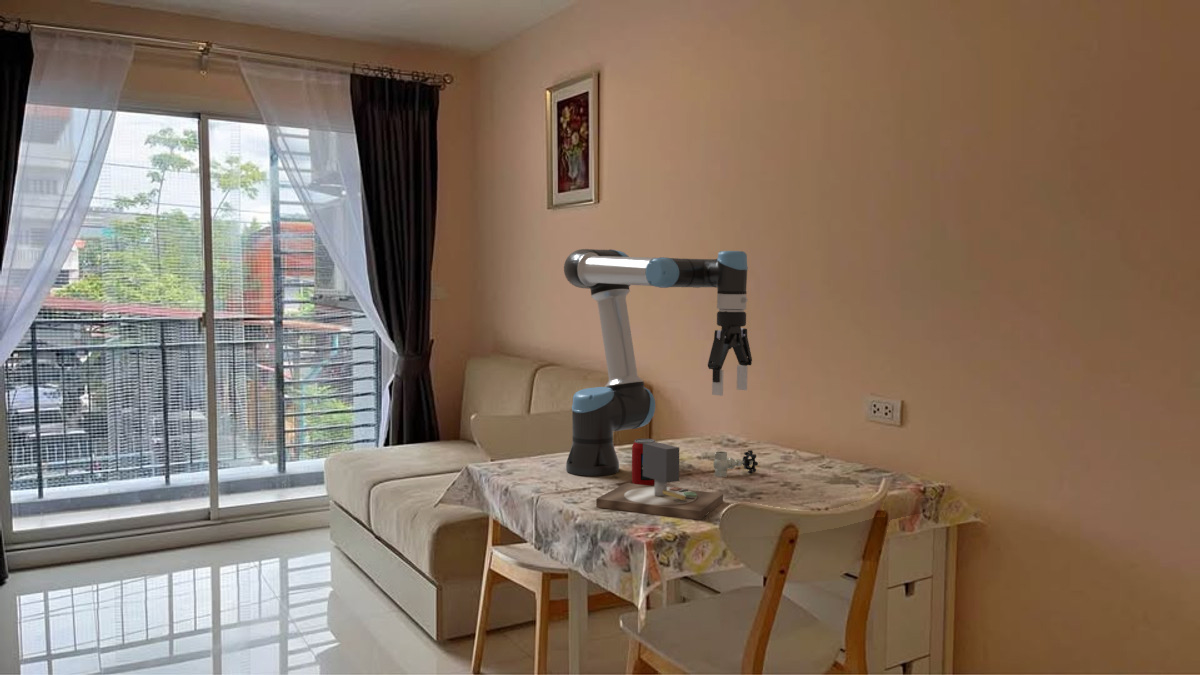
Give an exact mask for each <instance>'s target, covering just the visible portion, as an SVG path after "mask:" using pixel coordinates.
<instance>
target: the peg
mask: <svg viewBox="0 0 1200 675" xmlns="http://www.w3.org/2000/svg"><path fill="white" fill-rule="evenodd" d="M643 476H645V477H648V478H652V479H655V480H654V495H656V496H666V495H669V496H672V497H675V498H678V499H682V500H683V499H685V496H683V495H680V494H677V493H674V492H670V491H667V487H668V483H673V482H680V447H679V446H674V445H670V444H666V443H662V442H658V441H655V442H651V443H643Z"/></svg>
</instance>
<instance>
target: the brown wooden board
mask: <svg viewBox="0 0 1200 675" xmlns="http://www.w3.org/2000/svg"><path fill="white" fill-rule="evenodd" d="M667 491H670V492H674V493H677V494H680V495H683V496H685V499H683V500H682V499H678V498H675V497H672V496H669V495H666V496H656V495H654V486H648V485H639V484H633V483H628V482H625V483H623V484H621V485H620V486H618V487H617V486H616V488H614V489H612V490H610V491H608V492H607V493H605V494H603V495H600V496H599V497H597V498H596V499H595V500H596V502H595V504H596V505H595V507H596V508H601V509H610V510H618V511H619V510H620V511H626V512H635V513H643V514H649V515H650V514H651V515H657V516H667V517H675V518H682V519H689V520H690V519H691V520H698V521H699V520H702V519H703V518H704V517H706V516H707V515H708V514H709V513H711V512H712V511H713V510H715V509H716V508H718V506H720V505H721V504H722V503H723V502H724V493H721V492H711V491H702V490H695V489H694V490H693V489H687V488H685V489H684V488H682V487H679V486H673V487H670V486H667ZM715 507H716V508H715ZM712 509H713V510H712ZM711 510H712V511H711ZM710 511H711V512H710ZM708 512H709V513H708ZM707 513H708V514H707ZM706 514H707V515H706ZM705 515H706V516H705Z"/></svg>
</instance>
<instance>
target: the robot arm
mask: <svg viewBox="0 0 1200 675" xmlns="http://www.w3.org/2000/svg"><path fill="white" fill-rule="evenodd" d="M748 267H749V266H748V255H747V253H746V252H745V251H742V250H721V251H719V252H718V253H717V258H716V259H715V258H714V259H713V258H676V257H675V258H673V257H664V256H663V257H649V256H648V257H647V256H646V257H643V256H642V257H641V256H629V255H628V254H626V253H625V252H623V251H620V250H616V249H593V248H592V249H589V248H585V249H584V248H581V249H578V250H577V249H576V250H574V251H573V252H571V253H570V254H569V255H568V256H567V258H565V260H564V265H563V271H564V272H563V273H564V276H565V278H566V280H567V281H568V282H569V284H571V285H572V286H574V287H576V288H580V289H590V295H591V298H592V299H593V300H595V301H596V302H597V308H598V314H599V321H600V327H601V328H600V330H601V333H602V334H601V335H602V341H603V342H602V343H603V348H604V355H605V362H606V368H607V376H608V380H607V383H606V384H605V385H604V386H596V387H587V388H583V389H579V390H578V391H576V392H575V393H574V394H573V396H572V405H571V410H572V411H571V412H572V415H571V416H572V421H571V422H572V430H571V431H572V432H571V433H572V439H571V440H572V443H571V447H570V451H569V453H568V457H567V460H566V462H565V463H566V464H565V467H566V468H565V471H566V472H567V473H569V474H572V475H577V476H587V477H588V476H589V477H591V476H592V477H599V476H608V475H614V474H616V473H619V471H620V462H619V458H618V455H617V452H616V450H615V447H614V432H619V431H625V430H636V429H638V428H641V427H644V426H647V425H648V424H649V423H650V422H651V420H652V419H653V418H654V415H655V411H656V400H655V396H654V395H653V393H652V392H651V390H650V389H648V388H646V387H645V383H644V381H645V380H643V379H641V378H640V377H639V376H638V370H637V364H636V357H635V351H634V350H635V349H634V344H633V337H632V331H631V325H630V324H631V323H630V317H629V312H628V305H627V295H628V294H629V293H630V292H631V291H630V287H631V286H645V287H646V286H648V287H655V288H664V289H666V288H697V289H699V288H716V291H717V296H716V297H717V298H716V309H717V310H718V311H717V312H716V325H717V326H718V327H721V328H720V329H719V330H718V329H715V330H714V336H713V337H714V338H713V341H712V346H711V350H710V353H709V358H708V362H707V368H708V370H712V375H711V376H712V378H711V380H712V384H711V388H712V389H711V390H712V391H711V395H712V396H722V397H723V396H724V369H722V368H723V366H724V363H725V360H726V358H727V355H728V353H729V350H731V349H733V352H734V354H735V357H736V359H737V362H738V364H737V365H736V390H740V391H748V371H749V370H748V368H749V367H748V366H752V362H753V357H752V352H751V348H750V343H749V339H748V328H743V327H745V326H746V325H747V313H746V310H747V302H748V298H747V293H748V292H747V283H748V282H747V281H748V280H747V279H748V269H749V268H748Z"/></svg>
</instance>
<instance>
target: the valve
mask: <svg viewBox="0 0 1200 675" xmlns="http://www.w3.org/2000/svg"><path fill="white" fill-rule="evenodd" d="M714 454H715V455H714V460H713V468H714V476H715V477H719V478H725V477H726V478H727V476H728V469H729V470H732V469H734V468H735V467H741V466H743V469H744V470H747V473H748V474H753V473H755V472H757V468H756V466H758V465H759V462H758V461H756V459H757V454H756V453H754V452H753V450H752V449H750V450H747V451H745V452H744V453H743V454H744V455H743V457H742V459H741V458H740V459H734V458H733V457H728V452H727V451H723V450H722V451H719V450H718V451H715V452H714Z"/></svg>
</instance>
